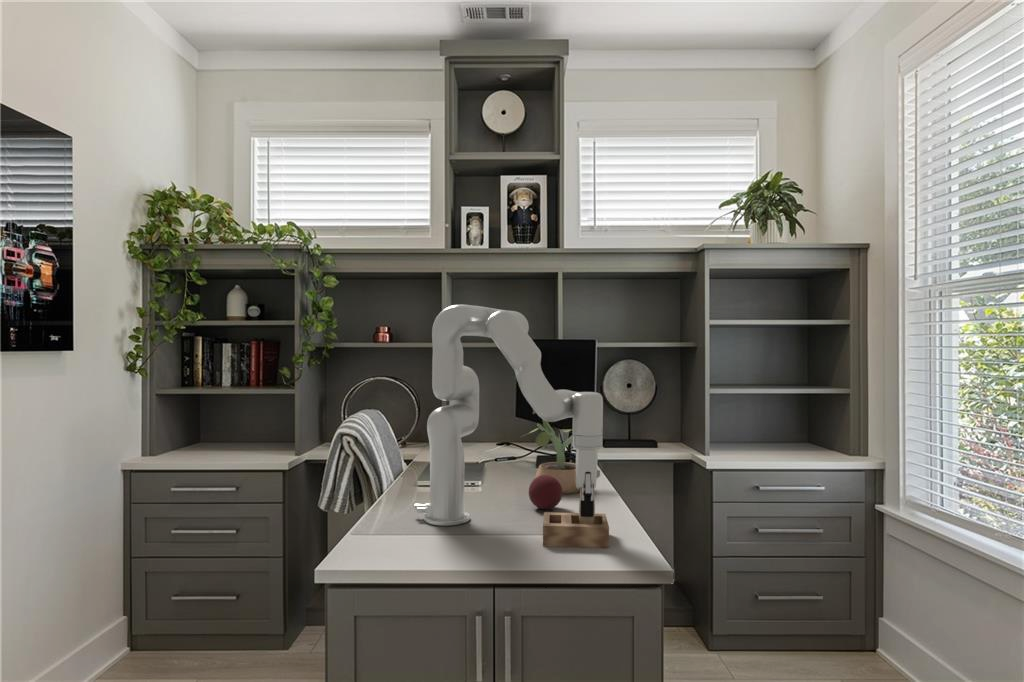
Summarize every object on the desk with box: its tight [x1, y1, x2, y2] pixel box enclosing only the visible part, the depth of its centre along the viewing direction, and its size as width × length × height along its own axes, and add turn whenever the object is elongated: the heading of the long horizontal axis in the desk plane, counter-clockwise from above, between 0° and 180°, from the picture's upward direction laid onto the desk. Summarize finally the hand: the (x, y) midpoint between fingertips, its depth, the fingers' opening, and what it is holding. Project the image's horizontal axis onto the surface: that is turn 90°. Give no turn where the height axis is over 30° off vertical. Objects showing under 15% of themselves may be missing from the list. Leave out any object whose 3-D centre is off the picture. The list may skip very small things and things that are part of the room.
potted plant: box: [518, 409, 580, 495], centre depth 219 cm, size 22×18×30 cm
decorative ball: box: [528, 475, 563, 511], centre depth 192 cm, size 10×10×10 cm
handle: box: [575, 469, 601, 524], centre depth 163 cm, size 5×6×15 cm
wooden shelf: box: [542, 511, 610, 549], centre depth 164 cm, size 16×12×5 cm
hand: (586, 513), depth 163 cm, fingers closed on handle, 3 cm apart
